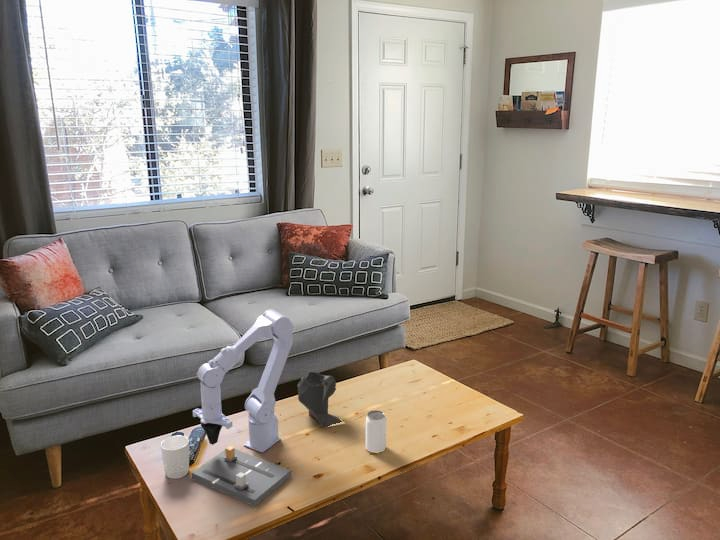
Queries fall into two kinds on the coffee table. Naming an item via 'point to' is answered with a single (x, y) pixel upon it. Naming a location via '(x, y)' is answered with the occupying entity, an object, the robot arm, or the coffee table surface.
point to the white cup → (175, 456)
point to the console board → (257, 472)
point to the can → (375, 431)
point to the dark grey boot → (317, 396)
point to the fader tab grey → (241, 481)
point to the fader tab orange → (230, 454)
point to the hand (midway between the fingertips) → (213, 442)
